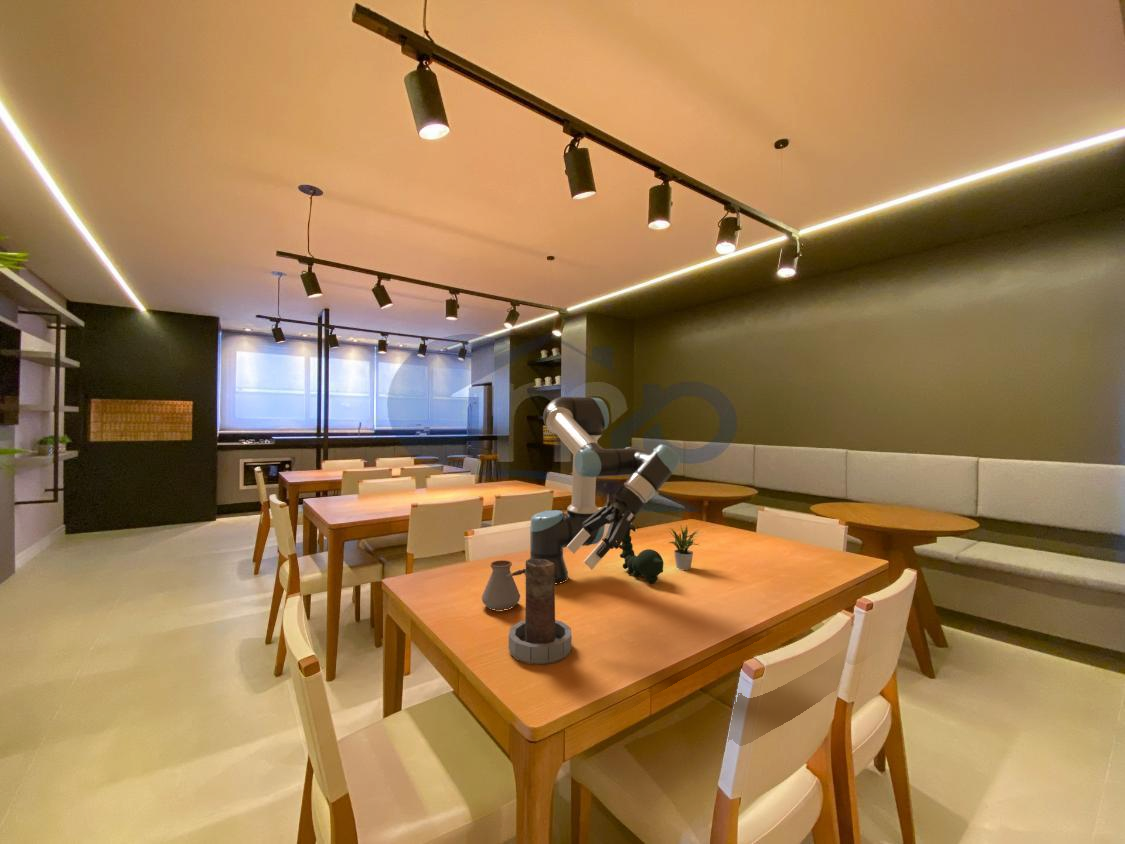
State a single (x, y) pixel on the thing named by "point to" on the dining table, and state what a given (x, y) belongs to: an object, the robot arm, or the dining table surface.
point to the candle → (540, 601)
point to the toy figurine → (641, 560)
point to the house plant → (683, 549)
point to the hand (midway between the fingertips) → (578, 557)
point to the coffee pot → (501, 587)
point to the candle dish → (540, 645)
